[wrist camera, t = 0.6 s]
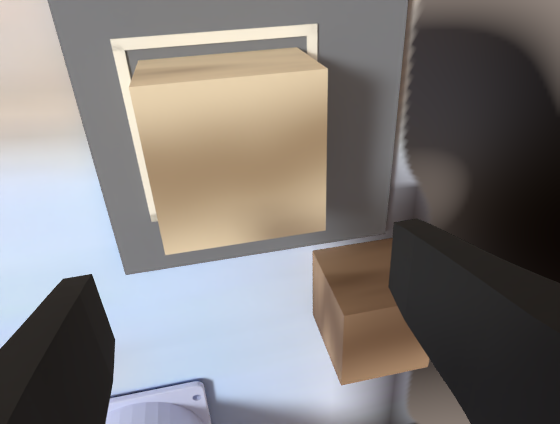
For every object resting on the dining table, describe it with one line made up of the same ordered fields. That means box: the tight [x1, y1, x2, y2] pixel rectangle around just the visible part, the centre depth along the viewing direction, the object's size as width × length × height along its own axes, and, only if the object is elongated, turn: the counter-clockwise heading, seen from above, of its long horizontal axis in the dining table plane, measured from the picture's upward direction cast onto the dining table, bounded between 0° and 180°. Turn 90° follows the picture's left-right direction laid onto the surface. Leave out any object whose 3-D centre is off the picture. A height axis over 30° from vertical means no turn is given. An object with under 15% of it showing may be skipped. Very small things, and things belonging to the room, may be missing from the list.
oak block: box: [129, 47, 328, 255], centre depth 16 cm, size 6×6×4 cm
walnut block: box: [313, 238, 429, 385], centre depth 22 cm, size 4×4×5 cm
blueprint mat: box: [48, 0, 408, 275], centre depth 18 cm, size 13×13×1 cm
